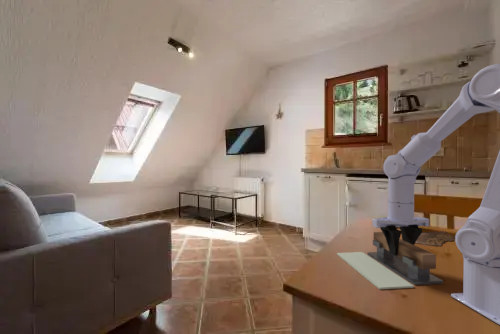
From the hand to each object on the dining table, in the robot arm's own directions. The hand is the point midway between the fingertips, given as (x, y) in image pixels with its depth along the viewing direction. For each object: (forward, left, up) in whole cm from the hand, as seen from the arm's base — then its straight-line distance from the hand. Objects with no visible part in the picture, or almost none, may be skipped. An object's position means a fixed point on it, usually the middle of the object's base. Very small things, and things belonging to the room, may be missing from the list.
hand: (400, 254), depth 63 cm
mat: (0, +9, -3) cm, 9 cm away
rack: (0, 0, -3) cm, 3 cm away
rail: (0, 0, 0) cm, 0 cm away
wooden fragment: (+22, -30, -4) cm, 37 cm away
